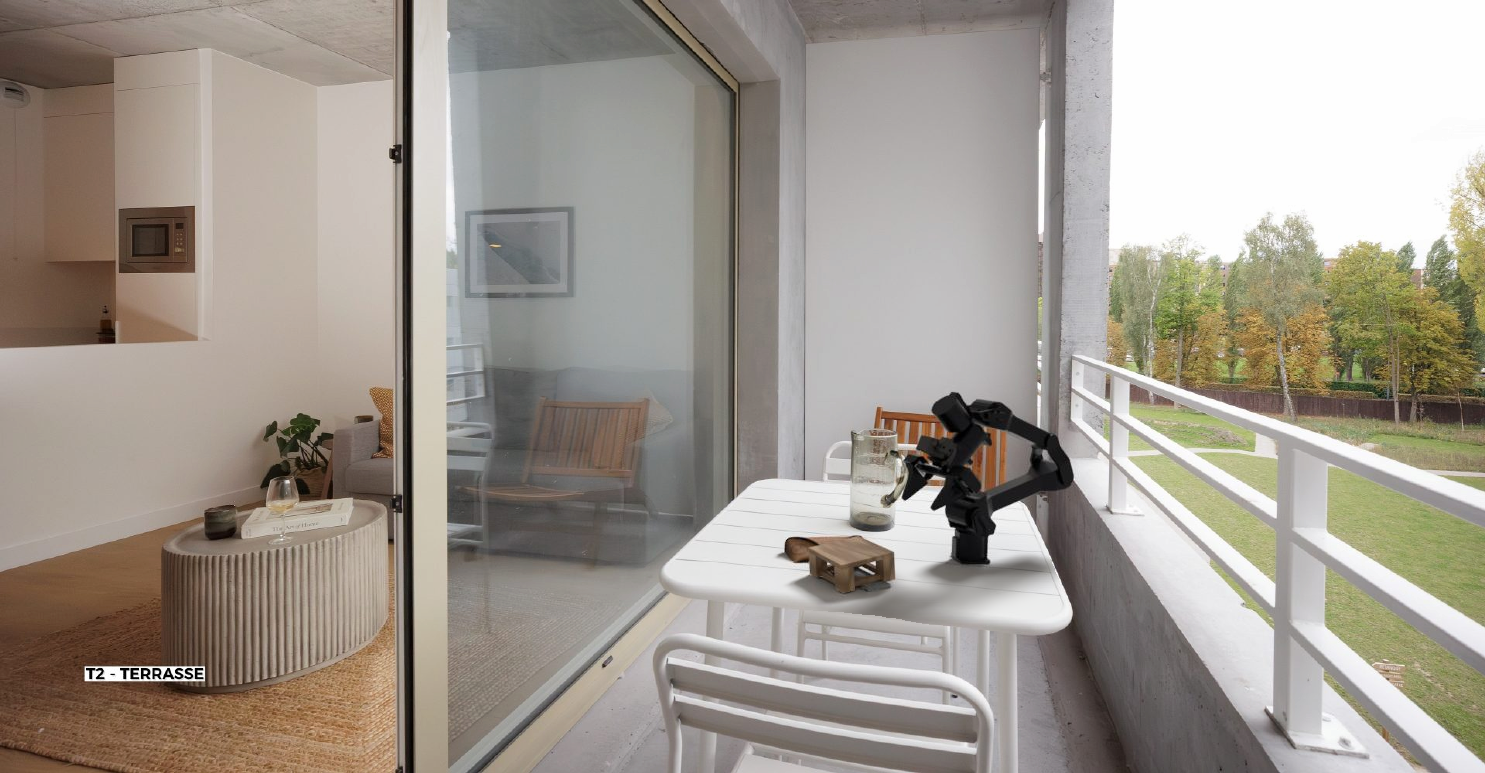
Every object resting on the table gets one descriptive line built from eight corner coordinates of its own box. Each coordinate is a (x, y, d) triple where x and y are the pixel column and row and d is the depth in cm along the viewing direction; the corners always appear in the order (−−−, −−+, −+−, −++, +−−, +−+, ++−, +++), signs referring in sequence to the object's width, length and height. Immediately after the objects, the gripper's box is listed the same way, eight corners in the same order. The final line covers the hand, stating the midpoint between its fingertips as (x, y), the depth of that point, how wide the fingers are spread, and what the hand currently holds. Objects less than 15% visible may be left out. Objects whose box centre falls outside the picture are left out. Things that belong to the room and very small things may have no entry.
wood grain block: (858, 535, 160) (808, 547, 155) (894, 551, 149) (841, 565, 144) (859, 561, 161) (809, 574, 155) (895, 579, 150) (843, 593, 145)
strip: (848, 566, 161) (848, 562, 161) (889, 587, 148) (890, 583, 148) (828, 569, 158) (828, 565, 158) (868, 591, 146) (868, 587, 146)
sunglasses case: (792, 563, 162) (789, 531, 165) (785, 570, 168) (782, 540, 171) (874, 559, 165) (870, 529, 168) (865, 567, 171) (861, 537, 174)
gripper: (911, 416, 167) (868, 470, 164) (972, 427, 151) (925, 488, 147) (939, 450, 172) (897, 503, 168) (1001, 464, 155) (956, 524, 151)
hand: (917, 504), depth 158 cm, fingers open, 9 cm apart
